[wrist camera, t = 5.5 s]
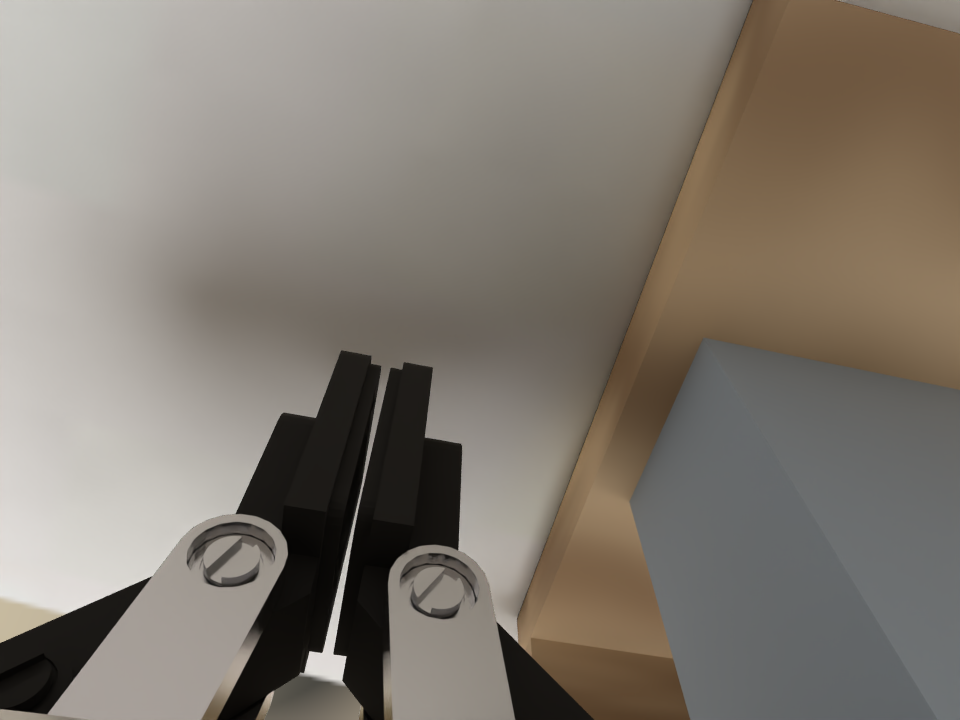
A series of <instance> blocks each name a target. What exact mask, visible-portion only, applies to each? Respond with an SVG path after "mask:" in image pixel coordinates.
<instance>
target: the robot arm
mask: <svg viewBox="0 0 960 720" xmlns="http://www.w3.org/2000/svg"><path fill="white" fill-rule="evenodd" d="M432 371H433V368H432V367H427V366H421V365H416V364H411V363H405V362H404V364H403V369H402V370H400V369H395V368H391V369H390V373H389V378H388V382H387V386H386V391H385V395H384V400H383V404H382V408H381V413H380V417H379V422H378V426H377V430H376V435H375V439H374V443H373V448H372V452H371V457H370V461H369V465H368V470H367V474H366V479H365V483H364V487H363V492H362V496H361V500H360V505H359V510H358V515H357V520H356V525H355V530H354V536H353V542H352V548H351V554H350V559H349V565H348V571H347V577H346V583H345V589H344V595H343V601H342V606H341V612H340V618H339V624H338V630H337V636H336V642H335V647H334V655H342V656H347V658H346V664H345V669H344V674H343V680H342V681H343V682H344V683H345V685H346V686H347V687H348V688H349V690H350V691H351V692H352V694H353V695H354V696H355V698H356V699H357V700H358V701H359V703H360V704H361V707H360V713H359V720H594V719H593V718H592V717H591V716H590V715H589V714H588V713H587V712H586V711H585V710H584V709H583V708H582V707H581V706H580V705H579V704H578V703H577V702H576V701H575V700H574V699H573V698H572V697H571V696H570V695H569V694H568V693H567V692H566V691H565V690H564V689H563V688H562V687H561V686H560V685H559V684H558V683H557V682H556V681H555V680H554V679H553V678H552V677H551V676H550V675H549V674H548V673H547V672H546V671H545V670H544V669H543V668H542V667H541V666H540V665H539V664H538V663H537V662H536V661H535V660H534V659H533V658H532V657H531V656H530V655H529V654H528V653H527V652H526V651H525V650H524V649H523V648H522V647H521V646H520V645H519V644H518V643H517V642H516V641H515V640H514V639H513V638H512V637H511V636H510V635H509V634H508V633H507V632H506V631H505V630H504V629H503V628H502V627H501V626H500V625H499V624H498V623H497V622H496V617H495V612H494V607H493V602H492V596H491V591H490V586H489V583H488V581H487V578H486V575H485V573H484V572H483V570H482V569H481V568H480V566H479V565H478V564H477V563H476V562H475V561H474V560H473V559H471V558H470V557H469V556H467V555H466V554H465V553H463V552H460V551H458V544H459V518H460V491H461V465H462V445H461V444H459V443H453V442H447V441H442V440H436V439H430V438H425V429H426V421H427V412H428V404H429V396H430V388H431V379H432ZM380 373H381V366H379V365H374V364H371V356H368V355H363V354H358V353H352V352H347V351H341V353H340V355H339V358H338V360H337V363H336V366H335V369H334V371H333V374H332V377H331V379H330V382H329V385H328V387H327V390H326V393H325V395H324V398H323V401H322V404H321V406H320V409H319V412H318V414H317V417H316V418H311V417H306V416H300V415H294V414H289V413H283V414H281V416H280V418H279V420H278V422H277V424H276V426H275V428H274V431H273V433H272V435H271V437H270V439H269V442H268V444H267V446H266V448H265V450H264V453H263V455H262V457H261V459H260V461H259V464H258V466H257V468H256V470H255V472H254V475H253V477H252V479H251V481H250V483H249V486H248V488H247V490H246V492H245V494H244V497H243V499H242V501H241V503H240V505H239V508H238V510H237V512H236V514H233V515H222V516H219V517H215V518H212V519H208V520H206V521H204V522H202V523H200V524H199V525H197V526H195V527H193V528H192V529H191V530H190V531H189V532H188V533H187V534H186V535H185V536H184V537H183V538H181V540H180V541H179V542H178V544H177V545H176V546H175V548H174V549H173V550H172V551H171V553H170V554H169V555H168V557H167V558H166V559H165V561H164V562H163V563H162V565H161V566H160V567H159V569H158V570H157V571H156V572H155V574H154V575H153V576H152V577H150V578H147V579H145V580H143V581H141V582H138V583H136V584H134V585H131V586H129V587H127V588H125V589H122V590H120V591H118V592H116V593H113V594H111V595H109V596H106V597H104V598H102V599H100V600H97V601H95V602H93V603H91V604H88V605H86V606H84V607H81V608H79V609H77V610H75V611H72V612H70V613H68V614H65V615H63V616H61V617H59V618H56V619H54V620H52V621H50V622H47V623H45V624H43V625H41V626H38V627H36V628H34V629H32V630H29V631H27V632H25V633H23V634H20V635H18V636H15V637H13V638H11V639H9V640H6V641H4V642H2V643H0V720H264V719H265V716H266V714H267V712H268V710H269V708H270V704H271V701H272V697H273V694H274V690H276V689H277V688H279V687H281V686H282V685H284V684H285V683H287V682H288V681H290V680H291V679H293V678H295V677H296V676H298V675H299V674H300V672H301V673H304V671H305V667H306V663H307V659H308V655H309V651H312V652H320V653H322V652H323V648H324V644H325V640H326V636H327V632H328V627H329V623H330V619H331V614H332V610H333V606H334V601H335V597H336V593H337V589H338V584H339V580H340V576H341V571H342V567H343V563H344V559H345V554H346V550H347V546H348V541H349V537H350V533H351V528H352V524H353V520H354V516H355V511H356V507H357V503H358V498H359V494H360V489H361V484H362V479H363V473H364V467H365V461H366V456H367V450H368V444H369V438H370V432H371V426H372V420H373V414H374V408H375V403H376V397H377V391H378V385H379V379H380Z"/></svg>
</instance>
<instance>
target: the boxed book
mask: <svg viewBox="0 0 960 720" xmlns="http://www.w3.org/2000/svg"><path fill="white" fill-rule="evenodd" d="M629 503H630V506H631V510H632V513H633V517H634V521H635V524H636V528H637V531H638V535H639V538H640V542H641V546H642V549H643V553H644V556H645V560H646V563H647V567H648V570H649V574H650V578H651V581H652V585H653V588H654V592H655V595H656V599H657V603H658V606H659V610H660V613H661V617H662V620H663V624H664V628H665V631H666V635H667V638H668V642H669V645H670V649H671V653H672V656H673V660H674V663H675V667H676V670H677V674H678V678H679V681H680V685H681V688H682V692H683V695H684V699H685V703H686V706H687V710H688V713H689V717H690V720H960V390H958V389H953V388H948V387H943V386H938V385H934V384H929V383H924V382H919V381H914V380H909V379H904V378H899V377H894V376H890V375H885V374H880V373H875V372H870V371H865V370H860V369H855V368H850V367H845V366H841V365H836V364H831V363H826V362H821V361H816V360H811V359H806V358H801V357H796V356H792V355H787V354H782V353H777V352H772V351H767V350H762V349H757V348H752V347H747V346H743V345H738V344H733V343H728V342H723V341H718V340H713V339H708V338H703V340H702V342H701V344H700V346H699V349H698V351H697V353H696V355H695V357H694V360H693V362H692V364H691V366H690V368H689V371H688V373H687V375H686V377H685V380H684V382H683V384H682V386H681V388H680V391H679V393H678V395H677V397H676V399H675V402H674V404H673V406H672V408H671V411H670V413H669V415H668V417H667V419H666V422H665V424H664V426H663V428H662V430H661V433H660V435H659V437H658V439H657V442H656V444H655V446H654V448H653V450H652V453H651V455H650V457H649V459H648V461H647V464H646V466H645V468H644V470H643V473H642V475H641V477H640V479H639V481H638V484H637V486H636V488H635V490H634V492H633V495H632V497H631V499H630V501H629Z"/></svg>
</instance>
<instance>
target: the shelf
mask: <svg viewBox="0 0 960 720" xmlns="http://www.w3.org/2000/svg"><path fill="white" fill-rule="evenodd" d="M703 338H708V339H713V340H718V341H723V342H728V343H733V344H738V345H743V346H747V347H752V348H757V349H762V350H767V351H772V352H777V353H782V354H787V355H792V356H796V357H801V358H806V359H811V360H816V361H821V362H826V363H831V364H836V365H841V366H845V367H850V368H855V369H860V370H865V371H870V372H875V373H880V374H885V375H890V376H894V377H899V378H904V379H909V380H914V381H919V382H924V383H929V384H934V385H938V386H943V387H948V388H953V389H958V390H960V34H959V33H955V32H952V31H948V30H944V29H940V28H937V27H933V26H929V25H926V24H922V23H918V22H915V21H911V20H907V19H903V18H900V17H896V16H892V15H889V14H885V13H881V12H878V11H874V10H870V9H866V8H863V7H859V6H855V5H852V4H848V3H844V2H840V1H837V0H753V2H752V5H751V7H750V10H749V13H748V15H747V18H746V20H745V23H744V26H743V28H742V31H741V34H740V36H739V39H738V41H737V44H736V47H735V49H734V52H733V55H732V57H731V60H730V62H729V65H728V68H727V70H726V73H725V76H724V78H723V81H722V83H721V86H720V89H719V91H718V94H717V96H716V99H715V102H714V104H713V107H712V110H711V112H710V115H709V117H708V120H707V123H706V125H705V128H704V131H703V133H702V136H701V138H700V141H699V144H698V146H697V149H696V152H695V154H694V157H693V159H692V162H691V165H690V167H689V170H688V173H687V175H686V178H685V180H684V183H683V186H682V188H681V191H680V194H679V196H678V199H677V201H676V204H675V207H674V209H673V212H672V214H671V217H670V220H669V222H668V225H667V228H666V230H665V233H664V235H663V238H662V241H661V243H660V246H659V249H658V251H657V254H656V256H655V259H654V262H653V264H652V267H651V270H650V272H649V275H648V277H647V280H646V283H645V285H644V288H643V291H642V293H641V296H640V298H639V301H638V304H637V306H636V309H635V312H634V314H633V317H632V319H631V322H630V325H629V327H628V330H627V332H626V335H625V338H624V340H623V343H622V346H621V348H620V351H619V353H618V356H617V359H616V361H615V364H614V367H613V369H612V372H611V374H610V377H609V380H608V382H607V385H606V388H605V390H604V393H603V395H602V398H601V401H600V403H599V406H598V409H597V411H596V414H595V416H594V419H593V422H592V424H591V427H590V429H589V432H588V435H587V437H586V440H585V443H584V445H583V448H582V450H581V453H580V456H579V458H578V461H577V464H576V466H575V469H574V471H573V474H572V477H571V479H570V482H569V485H568V487H567V490H566V492H565V495H564V498H563V500H562V503H561V506H560V508H559V511H558V513H557V516H556V519H555V521H554V524H553V527H552V529H551V532H550V534H549V537H548V540H547V542H546V545H545V547H544V550H543V553H542V555H541V558H540V561H539V563H538V566H537V568H536V571H535V574H534V576H533V579H532V582H531V584H530V587H529V589H528V592H527V595H526V597H525V600H524V603H523V605H522V608H521V610H520V613H519V616H518V618H517V626H518V644H519V645H520V646H521V647H522V648H523V649H524V650H525V651H526V652H527V653H528V654H529V655H530V656H531V657H532V658H533V659H534V660H535V661H536V662H537V663H538V664H539V665H540V666H541V667H542V668H543V669H544V670H545V671H546V672H547V673H548V674H549V675H550V676H551V677H552V678H553V679H554V680H555V681H556V682H557V683H558V684H559V685H560V686H561V687H562V688H563V689H564V690H565V691H566V692H567V693H568V694H569V695H570V696H571V697H572V698H573V699H574V700H575V701H576V702H577V703H578V704H579V705H580V706H581V707H582V708H583V709H584V710H585V711H586V712H587V713H588V714H589V715H590V716H591V717H592V718H593V719H594V720H690V717H689V713H688V710H687V706H686V703H685V699H684V695H683V692H682V688H681V685H680V681H679V678H678V674H677V670H676V667H675V663H674V660H673V656H672V653H671V649H670V645H669V642H668V638H667V635H666V631H665V628H664V624H663V620H662V617H661V613H660V610H659V606H658V603H657V599H656V595H655V592H654V588H653V585H652V581H651V578H650V574H649V570H648V567H647V563H646V560H645V556H644V553H643V549H642V546H641V542H640V538H639V535H638V531H637V528H636V524H635V521H634V517H633V513H632V510H631V506H630V503H629V501H630V499H631V497H632V495H633V492H634V490H635V488H636V486H637V484H638V481H639V479H640V477H641V475H642V473H643V470H644V468H645V466H646V464H647V461H648V459H649V457H650V455H651V453H652V450H653V448H654V446H655V444H656V442H657V439H658V437H659V435H660V433H661V430H662V428H663V426H664V424H665V422H666V419H667V417H668V415H669V413H670V411H671V408H672V406H673V404H674V402H675V399H676V397H677V395H678V393H679V391H680V388H681V386H682V384H683V382H684V380H685V377H686V375H687V373H688V371H689V368H690V366H691V364H692V362H693V360H694V357H695V355H696V353H697V351H698V349H699V346H700V344H701V342H702V340H703Z"/></svg>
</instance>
